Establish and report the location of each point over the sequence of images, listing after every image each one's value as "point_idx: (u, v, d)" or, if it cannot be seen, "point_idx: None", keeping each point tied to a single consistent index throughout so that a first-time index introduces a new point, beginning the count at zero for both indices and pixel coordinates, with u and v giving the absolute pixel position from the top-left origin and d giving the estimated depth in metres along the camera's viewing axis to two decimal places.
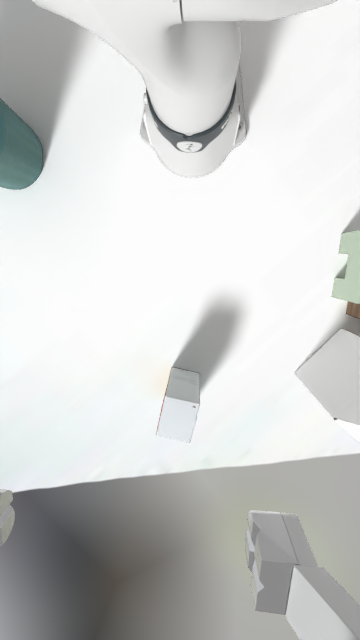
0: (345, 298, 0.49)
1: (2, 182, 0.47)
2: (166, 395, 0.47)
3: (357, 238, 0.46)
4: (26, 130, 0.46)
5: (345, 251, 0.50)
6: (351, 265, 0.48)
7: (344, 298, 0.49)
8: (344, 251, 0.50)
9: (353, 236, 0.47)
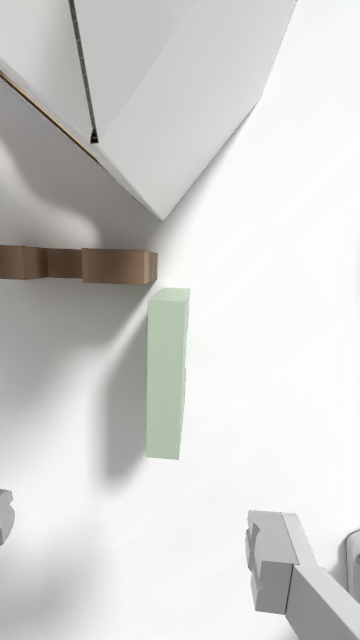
0: (187, 298, 0.22)
1: None
2: None
3: None
4: None
5: (184, 380, 0.26)
6: (184, 366, 0.23)
7: (187, 297, 0.22)
8: None
9: None
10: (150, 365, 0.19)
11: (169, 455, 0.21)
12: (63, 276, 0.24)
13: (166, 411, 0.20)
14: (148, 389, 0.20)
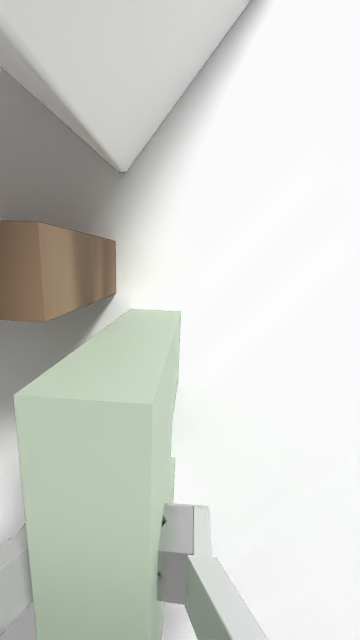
0: (171, 351, 0.09)
1: None
2: None
3: (161, 617, 0.10)
4: None
5: (170, 499, 0.13)
6: None
7: (172, 346, 0.09)
8: (171, 493, 0.13)
9: None
10: (43, 593, 0.06)
11: None
12: None
13: None
14: None
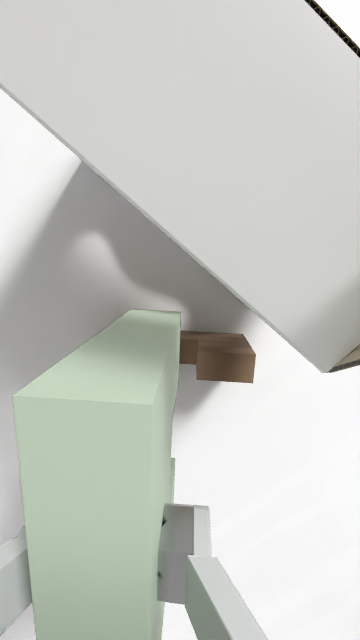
0: (171, 351, 0.09)
1: None
2: None
3: (161, 618, 0.10)
4: None
5: None
6: None
7: (172, 346, 0.09)
8: (171, 494, 0.13)
9: None
10: (42, 595, 0.06)
11: None
12: None
13: None
14: None
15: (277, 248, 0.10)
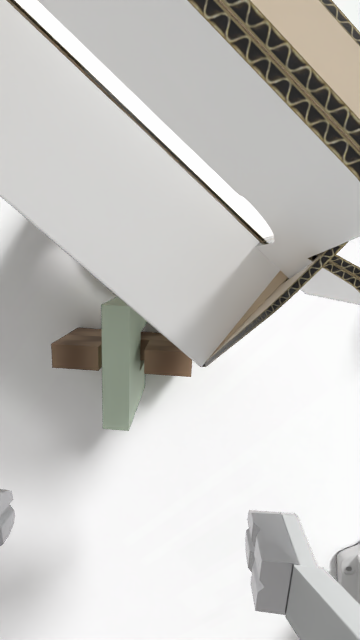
0: None
1: None
2: None
3: (135, 399, 0.29)
4: None
5: (141, 370, 0.32)
6: (137, 357, 0.29)
7: None
8: (142, 369, 0.32)
9: (138, 397, 0.30)
10: (104, 355, 0.25)
11: (121, 427, 0.26)
12: None
13: (117, 392, 0.25)
14: (103, 374, 0.25)
15: (155, 280, 0.14)
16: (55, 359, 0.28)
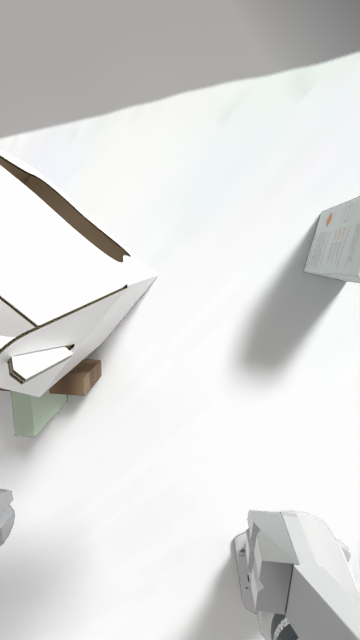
0: None
1: None
2: None
3: (47, 413, 0.38)
4: None
5: None
6: None
7: None
8: None
9: (52, 410, 0.39)
10: None
11: (29, 434, 0.35)
12: None
13: (23, 408, 0.34)
14: (12, 395, 0.34)
15: None
16: None
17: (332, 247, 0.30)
